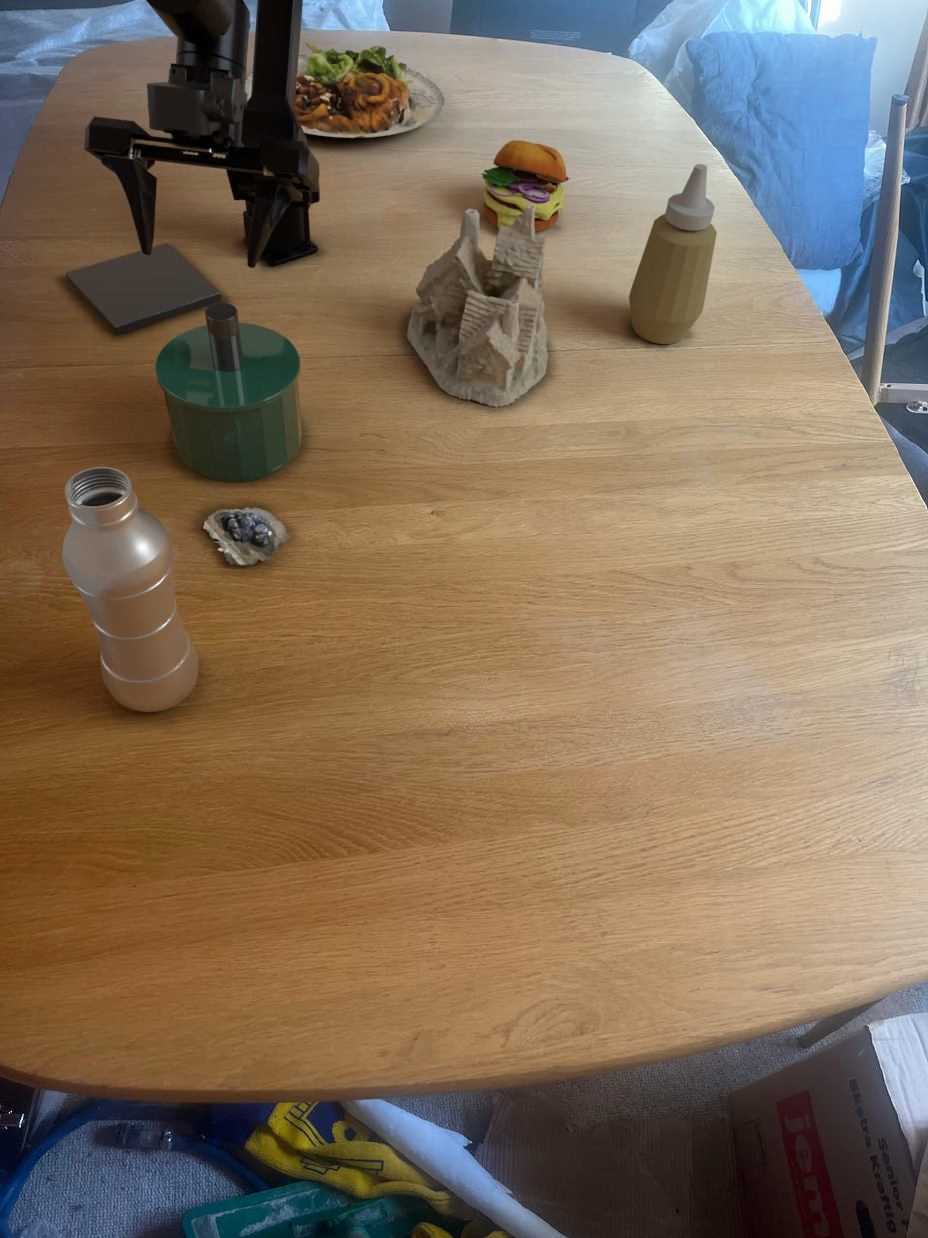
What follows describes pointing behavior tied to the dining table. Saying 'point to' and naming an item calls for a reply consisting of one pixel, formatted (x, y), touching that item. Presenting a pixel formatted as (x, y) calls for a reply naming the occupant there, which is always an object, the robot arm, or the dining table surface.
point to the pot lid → (227, 364)
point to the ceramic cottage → (484, 314)
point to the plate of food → (360, 94)
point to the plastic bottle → (128, 591)
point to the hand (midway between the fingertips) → (198, 260)
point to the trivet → (142, 288)
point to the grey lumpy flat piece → (246, 534)
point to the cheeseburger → (525, 184)
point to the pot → (238, 438)
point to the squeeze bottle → (675, 265)
